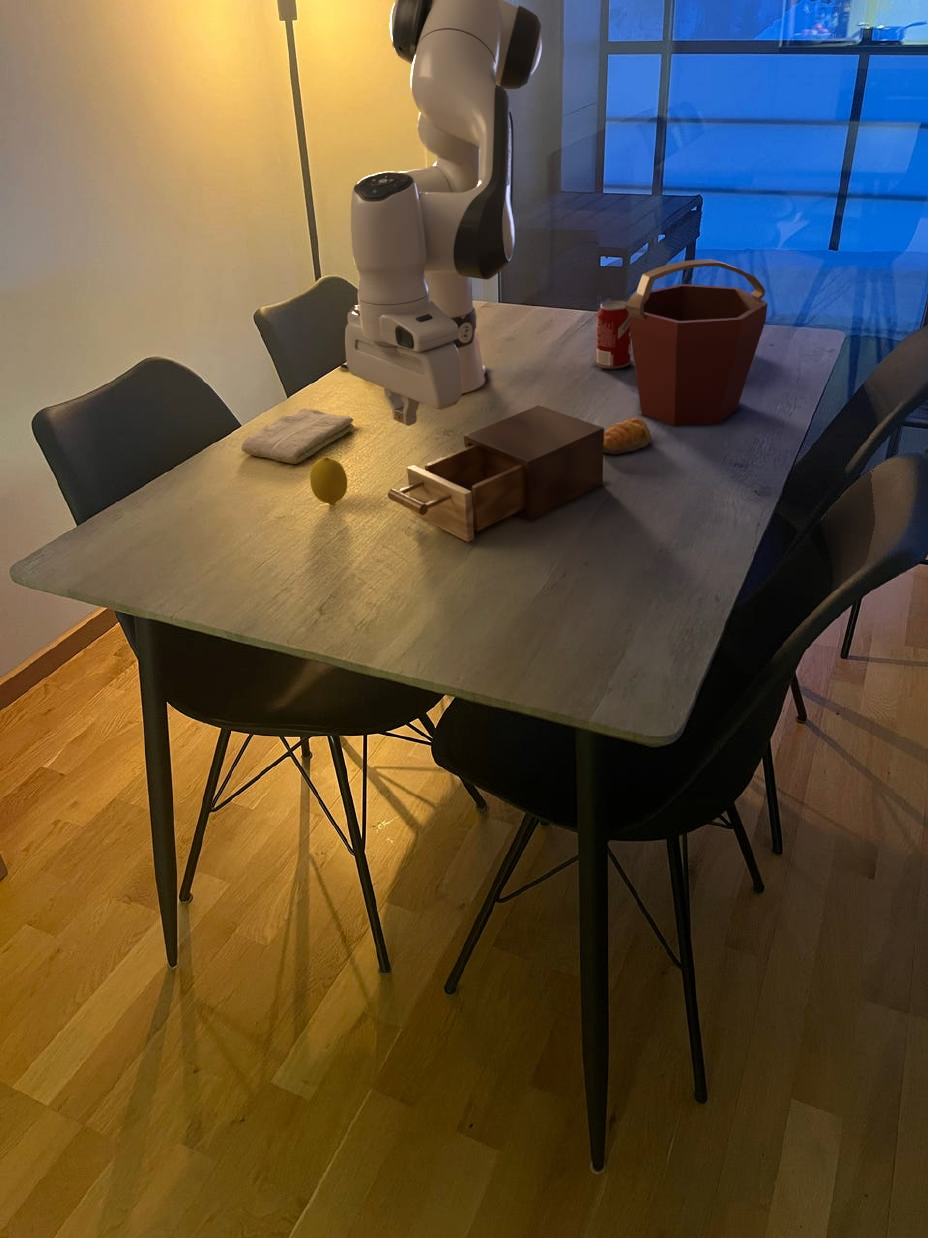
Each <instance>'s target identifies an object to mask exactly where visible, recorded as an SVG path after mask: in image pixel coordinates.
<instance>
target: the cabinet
mask: <svg viewBox="0 0 928 1238" xmlns="http://www.w3.org/2000/svg"><path fill="white" fill-rule="evenodd" d="M604 432H605V427H603V426H600V425H598V424H594V423H592V422H588V421H586V420H582V419H580V418H577V417H573V416H572V415H568V414H565V413H562V412H559V411H556V410H553V409H551V408H548V407H545V406H542V405H540V404H537V405H536V406H533V407H531V408H529V409H526V410H524V411H521V412H519V413H515V414H514V415H511V416H509V417H507V418H504V419H501V420H499V421H497V422H494V423H492V424H489V425H487V426H485V427H481V428H479V429H477V430H474V431H472V432H470V433H467V434H464V435H463V439H464V442H463V443H464V448H466V447H469V446H471V445H475V446H478V447H480V448H483V449H485V450H488V451H490V452H492V453H495V454H497V455H500V456H502V457H505V458H507V459H510V460H512V461H514V462H517V463H519V464H522V465H524V466H525V503H526V508H524V509H522V510H520V511H518V512H516V513H515V514H516V515H517V516H520V517H521V518H524V519H526V520H528V521H531V520H533V519H535V518H537V517H539V516H541V515H543V514H546V513H548V512H549V511H552V510H553V509H555V508H558V507H559V506H562V505H564V504H565V503H567V502H569V501H571V500H573V499H576V498H579V496H582V495H583V494H585V493H587V492H590V491H591V490H594V489H596V488H598V487H600V486H601V485H603V483H604V482H603V480H604V478H603V477H604V452H603V451H604Z"/></svg>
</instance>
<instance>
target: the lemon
mask: <svg viewBox="0 0 928 1238" xmlns="http://www.w3.org/2000/svg"><path fill="white" fill-rule="evenodd" d="M309 482H310V488H311V491H312V493H313V495H314V496H315V498H316V499H318V500H319V501H320V502H322V503H325V504H328V505H329V506H334V505H336V503H337V502H338V503H339V501H341V500H342V499H343V498H344V497H345V495H346V493H347V491H348V477H347V473H346V471H345V468H344V467H343V465H342V464H341V463H340V462H339V461H338V460H336V459H334V458H332V457H328V456H323V457H322V458H320V459H318V460H317V461H316V462H315V463H314V464H313V465H312V468H311V470H310V475H309Z"/></svg>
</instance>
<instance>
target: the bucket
mask: <svg viewBox="0 0 928 1238" xmlns="http://www.w3.org/2000/svg"><path fill="white" fill-rule="evenodd" d="M703 267H719V268H722V269H725V270H728V271H731V272H734V273H736V274H737V275H738V274H739V275H740V276H743V277H744V278H745V279H746V280H747V282H748V283H749V284H750V285H751V286H752V288H753V289H754V290H753V291H752V292H751V293H750V292H748V291H746V290H744V289H743V288H741V287H734V286H719V285H705V284H687V283H679V284H675V285H671V286H666V287H661V288H656V289H653V285H654V284H655V281H656V280H659V279H661V278H663V277H666V276H668V275H671V274H674V273H677V272H680V271H685V270H688V269H693V268H703ZM765 295H766V289H765V286H763V285H762V283H761V282H760V281H759V280H758V278H756V275H752V274H750V273H748V272H746V271H744V270H742V269H741V268H739V267H736V266H734V265H731V264H729V263H725V262H723V261H719V260H716V259H712V258H711V259H694V260H693V259H692V260H682V261H678V262H674V263H668V264H666V265H662V266H659V267H656V268H653V269H650V270H649V271H647V272H645V273H642V275H641V276H640V280H639V283H638V285H637V289H636V292H635V293H634V294H633V295H631V296H630V298H628V300H627V301H626V302H627V303H626V304H625V307H626V309H627V311H628V313H629V315H630V335H631V350H632V355H633V356H632V357H633V363H634V370H635V376H636V384H637V390H638V397H639V404H640V411H641V415H643V416H646V417H649V418H651V419H654V420H657V421H660V422H663V423H665V424H668V425H672V426H674V427H675V426H676V427H677V426H693V425H711V424H712V425H713V424H719V423H720V422H721V421H723V420H724V419H726V418H727V417H728V416H730V415H731V414H732V413H733V412H735V411H736V410H737V409H738V407H739V404H740V400H741V397H742V394H743V391H744V388H745V385H746V382H747V378H748V376H749V373H750V370H751V367H752V364H753V362H754V361H753V360H754V358H755V354H756V351H757V348H758V345H759V342H760V339H761V336H762V333H763V330H764V327H765V324H766V321H767V320H766V319H767V312H768V306H769V305H768V304H769V303H768V302H767V301H765V300H763V298H764V296H765Z"/></svg>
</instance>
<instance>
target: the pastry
mask: <svg viewBox="0 0 928 1238" xmlns="http://www.w3.org/2000/svg"><path fill="white" fill-rule="evenodd" d="M652 440H653V436H652V434H651V430H650V429H649V427H648V424H647V423H646V422H645V421H644V420H643V419H641V418H639V417H635V418H631V417H628V419H626V420H624V421H621V422H616V423H613V424H612V425H610V427H609V428H607V429H606V430H604V451H603V453H606V454H610V455H620V454H623V453H627V454H628V453H629V452H634V451H636V450H639V449H640V448H645V447H647V446H649V444H650V442H651V441H652Z"/></svg>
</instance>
